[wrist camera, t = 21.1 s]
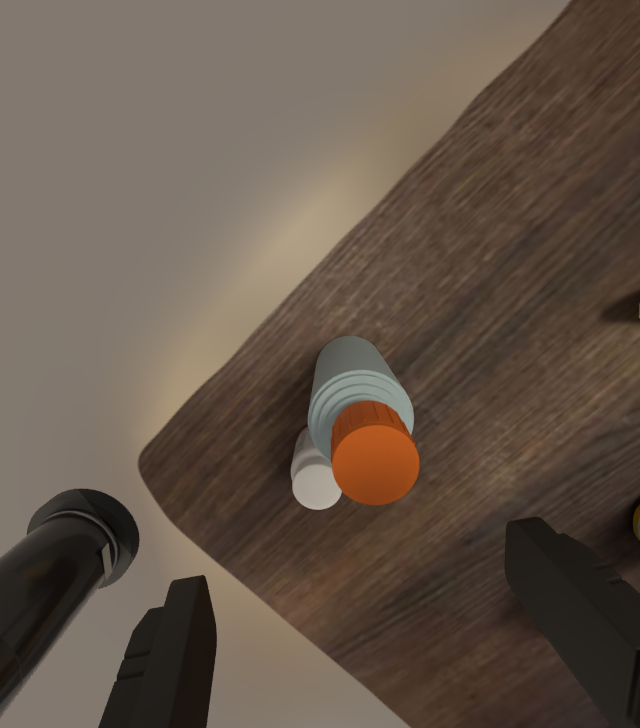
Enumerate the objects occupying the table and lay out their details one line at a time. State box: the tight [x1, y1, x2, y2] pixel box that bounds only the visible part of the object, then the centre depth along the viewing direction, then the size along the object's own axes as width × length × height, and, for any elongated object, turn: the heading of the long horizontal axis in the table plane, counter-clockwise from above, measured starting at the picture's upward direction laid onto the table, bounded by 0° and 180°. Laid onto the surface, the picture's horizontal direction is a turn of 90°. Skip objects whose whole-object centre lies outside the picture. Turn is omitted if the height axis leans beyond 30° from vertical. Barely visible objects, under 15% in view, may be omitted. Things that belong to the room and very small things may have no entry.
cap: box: [331, 400, 419, 505], centre depth 19 cm, size 4×4×4 cm
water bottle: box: [308, 336, 414, 461], centre depth 27 cm, size 6×6×20 cm
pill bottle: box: [291, 426, 342, 510], centre depth 34 cm, size 5×5×8 cm
